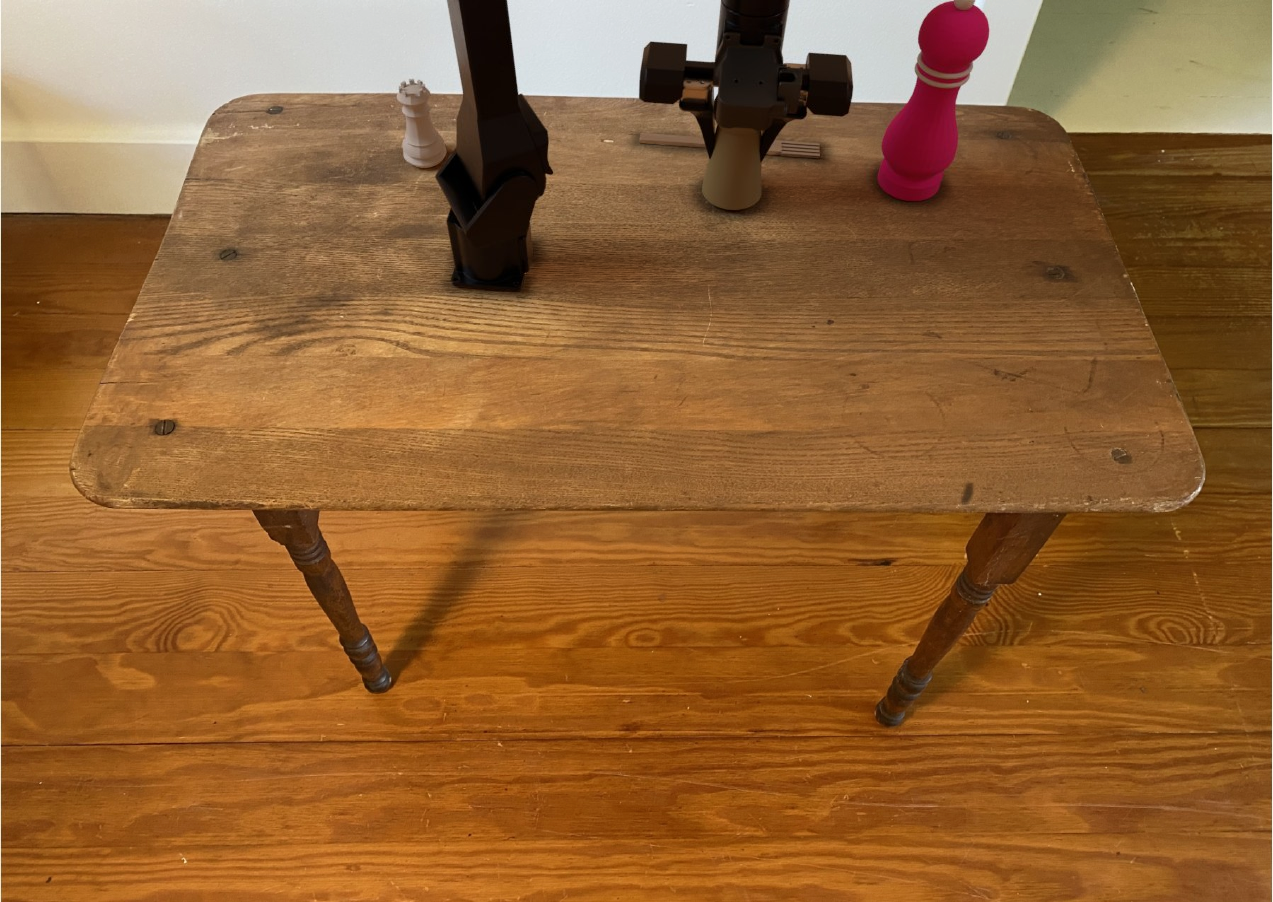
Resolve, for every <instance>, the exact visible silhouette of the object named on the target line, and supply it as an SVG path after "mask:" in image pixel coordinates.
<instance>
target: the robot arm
mask: <svg viewBox="0 0 1273 902" xmlns="http://www.w3.org/2000/svg"><path fill="white" fill-rule="evenodd" d="M790 2H791V0H720V5H719V6H720V7H719V16H718V17H719V18H718V25H717V36H716V48H715V54H714V61H701V60H689V59H688V60H687V57H688V56H687V55H688V43H677V42H666V41H649V42H648V43H647V44H646V45H645V46H644V47H643V52H642V56H641V57H642V59H641V65H640V71H639V83H638V88H639V89H638V99H639V100H641V101H642V102H643V103H648V104H662V105H674V104H676V103H677V102H678V108H679V110H680V111H682V112H688V113H690V114H692V115H693V116H694V118H695V120H696V122H697V124H698V127H699V128H700V132H701V137H703V139H704V142H705V146H706V148H705V150H706V153H707V155H708V156H707V157H708V160H709V159H711V157H712V154H713V151H714V147H715V145H714V139H715V132H716V124H717V123H718V125H720V126H721V127H723V128H728V129H732V128H749V129H754V130H756V131H761V144H760V150H759V152H760V163H761V164H762V163H763V160H764V159H765V157H766V155H768V154H767V152H768V150H769V149H770V147H771V145H772V144H773V142H774V140H777V138H778V136H779V134H781V131H782V130H783V129H784V128H785V126H786V125H787V124H788V123H790V122H792V121H796V120H797V121H798V120H799V121H802V120H805V119H806V117H807V115H808V110H809V112H811V113H812V115H815V116H827V117H828V116H829V117H841V118H842V117H844V116H846V115H848V114H849V113H850V108H851V105H852V101H853V95H854V94H853V93H854V81H853V67H852V62H851V59H849V57H848V56H847V54H837V53H821V52H808V53H807V55H806V59H805V63H796V62H795V63H794V62H785V63H784V56H783V47H784V40H785V34H786V27H787V21H788V15H789V9H790ZM446 3H447V9H448V16H449V20H450V26H451V27H450V28H451V32H452V37H453V44H454V49H455V55H456V60H457V61H456V62H457V67H458V71H459V72H458V73H459V78H460V84H461V89H462V100H461V103H460V106H459V110H458V113H457V116H456V126H455V127H456V129H455V130H456V133H455V134H456V136H455V138H456V139H455V141H456V143H455V145H456V146H455V149H454V150H453V151H452V152H451V154H450V155H449V156H448V158H446V160H445V162H444V163H443V164H442V166H441V167H440V168H439V169H438V171H437V172H436V173H435V176H434V178H435V180H436V182H437V184H438V186H439V187H440V189H441V192H442V193H443V195H444V197H445V198H446V201H447V202H448V204H449V206H450V209H449V211H448V215H447V217H446V221H445V222H446V228H447V232H448V237H449V243H450V248H451V249H450V250H451V253H452V259H453V263H454V268H453V271H452V275H451V278H450V283H451V286H453V287H456V288H467V289H468V288H469V289H480V290H481V289H482V290H493V291H494V290H496V291H506V292H507V291H508V292H519V291H521V290H522V288H523V285H524V280H525V277H526V274H528V273H529V272H530V270H531V265H532V261H533V256H534V249H533V237H532V228H531V219H532V216H533V212H534V209H535V206H536V202H537V201H538V200H539V198H540V197H542V196H544V195H545V191H546V189H547V175H550V176H553V174H554V170H553V169H552V167H551V165H550V161H549V143H550V139H549V131H548V129H547V128H546V127H545V124H543V122H542V120H541V119H540V117H539V116H538V115H537V113H536V111H535V110H534V109H533V108H532V106H531V104H530V103H529V101H528V100H527V98H526V96H524V94H523V93H519V87H518V80H517V72H516V71H517V70H516V63H515V55H514V46H513V38H512V30H511V28H512V27H511V21H510V12H509V6H508V0H446ZM715 88H717V94H718V98H717V110H716V121H717V122H716V121H715V119H714V113H713V107H714V101H715Z"/></svg>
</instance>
